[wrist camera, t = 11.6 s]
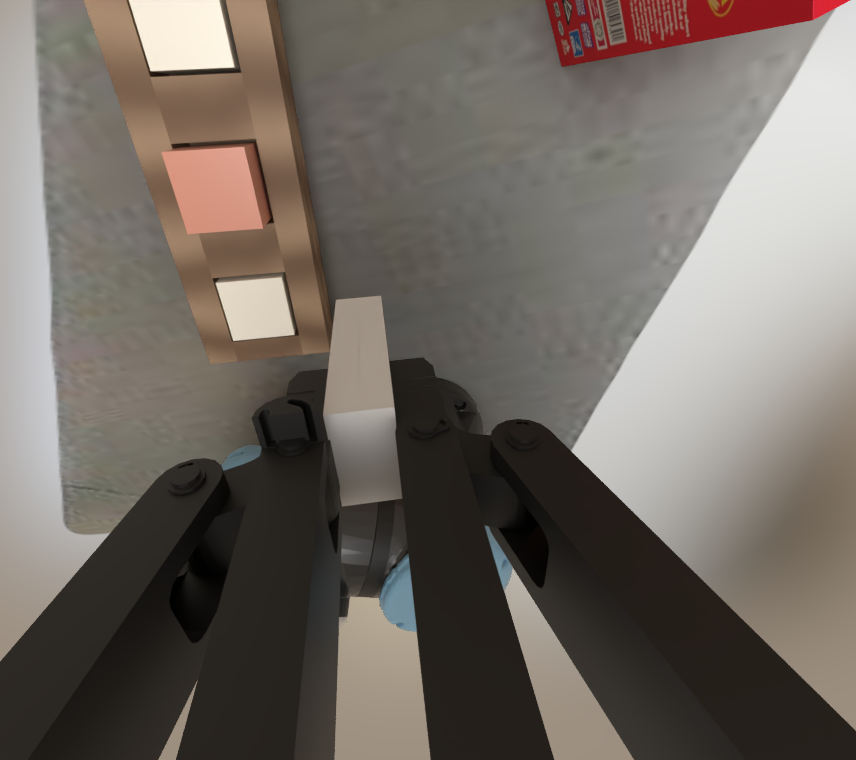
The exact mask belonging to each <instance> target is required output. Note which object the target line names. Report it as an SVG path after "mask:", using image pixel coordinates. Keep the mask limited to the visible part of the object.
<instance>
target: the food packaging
mask: <svg viewBox="0 0 856 760" xmlns="http://www.w3.org/2000/svg"><path fill="white" fill-rule="evenodd" d="M545 1H546V5H547V9H548V13H549V17H550V21H551V25H552V29H553V34H554V38H555V42H556V46H557V50H558V54H559V58H560V62H561V66H562V67H564V66H569V65H575V64H580V63H585V62H591V61H596V60H601V59H607V58H612V57H617V56H623V55H628V54H634V53H639V52H644V51H650V50H655V49H660V48H666V47H671V46H676V45H682V44H687V43H692V42H698V41H703V40H709V39H714V38H719V37H725V36H730V35H735V34H741V33H746V32H751V31H757V30H762V29H768V28H773V27H778V26H784V25H789V24H794V23H800V22H805V21H810V20H814V19H816V18H818V17H820V16H821V15H823V14H825V13H827V12H829V11H831V10H833V9H835V8H837V7H839V6H840V5H842V4H844V3H846V2H848V1H850V0H545Z"/></svg>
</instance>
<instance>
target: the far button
mask: <svg viewBox="0 0 856 760" xmlns="http://www.w3.org/2000/svg"><path fill="white" fill-rule="evenodd" d="M216 286H217V289H218V292H219V296H220V299H221V302H222V306H223V309H224V312H225V315H226V319H227V322H228V325H229V328H230V332H231V335H232V338H233V341H238V340H248V339H258V338H269V337H279V336H289V335H295V331H296V328H297V324H296V319H295V315H294V310H293V306H292V301H291V296H290V292H289V287H288V283H287V278H286V274H285V272H279V273H267V274H255V275H244V276H232V277H220V278H219V279H218V281H217V282H216Z"/></svg>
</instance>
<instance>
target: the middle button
mask: <svg viewBox="0 0 856 760" xmlns="http://www.w3.org/2000/svg"><path fill="white" fill-rule="evenodd" d="M161 153H162V156H163V159H164V162H165V165H166V168H167V171H168V175H169V178H170V181H171V184H172V187H173V190H174V193H175V196H176V199H177V203H178V206H179V209H180V212H181V215H182V218H183V221H184V224H185V227H186V231H187V234H198V233H211V232H224V231H237V230H250V229H263V228H264V227H265V225H266V224H267V223H268V221H269V220H270V219H271V218H272V213H271V209H270V204H269V200H268V195H267V191H266V186H265V181H264V177H263V172H262V168H261V163H260V159H259V154H258V150H257V145H256V143H241V144H224V145H207V146H191V147H180V148H176V149H172V150H168V151H163V152H161Z"/></svg>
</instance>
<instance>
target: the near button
mask: <svg viewBox="0 0 856 760" xmlns="http://www.w3.org/2000/svg"><path fill="white" fill-rule="evenodd" d="M129 2H130V6H131V9H132V12H133V15H134V19H135V22H136V25H137V28H138V32H139V35H140V38H141V41H142V45H143V48H144V51H145V55H146V58H147V61H148V64H149V68H150V71H153V72H159V73H165V74H171V75H178V74H200V73H221V72H241V68H240V64H239V59H238V54H237V50H236V45H235V41H234V36H233V32H232V27H231V22H230V18H229V13H228V9H227V4H226V0H129Z"/></svg>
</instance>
